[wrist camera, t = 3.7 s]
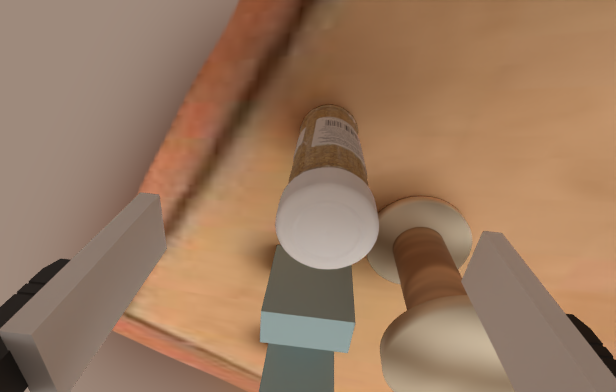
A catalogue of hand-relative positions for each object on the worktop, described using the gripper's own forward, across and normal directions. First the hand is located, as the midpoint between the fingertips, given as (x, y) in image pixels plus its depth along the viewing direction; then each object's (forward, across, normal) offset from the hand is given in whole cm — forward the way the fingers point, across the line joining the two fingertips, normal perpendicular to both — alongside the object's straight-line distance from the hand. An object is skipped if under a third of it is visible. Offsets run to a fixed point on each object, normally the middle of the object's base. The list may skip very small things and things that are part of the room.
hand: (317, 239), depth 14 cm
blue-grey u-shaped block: (+14, +1, -19) cm, 23 cm away
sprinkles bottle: (+14, +1, 0) cm, 14 cm away
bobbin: (+14, +10, -9) cm, 19 cm away
